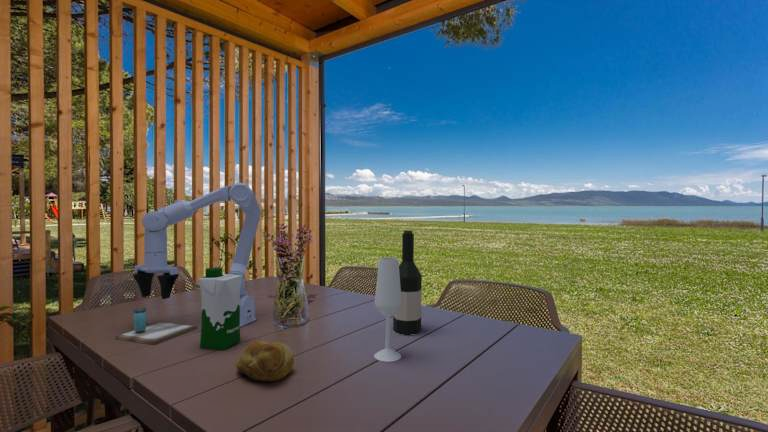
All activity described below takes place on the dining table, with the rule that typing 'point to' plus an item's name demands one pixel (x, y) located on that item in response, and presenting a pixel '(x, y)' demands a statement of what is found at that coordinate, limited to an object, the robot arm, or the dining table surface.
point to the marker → (139, 320)
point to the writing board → (157, 333)
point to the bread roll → (265, 361)
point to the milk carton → (220, 309)
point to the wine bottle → (408, 290)
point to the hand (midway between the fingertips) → (155, 297)
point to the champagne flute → (388, 301)
